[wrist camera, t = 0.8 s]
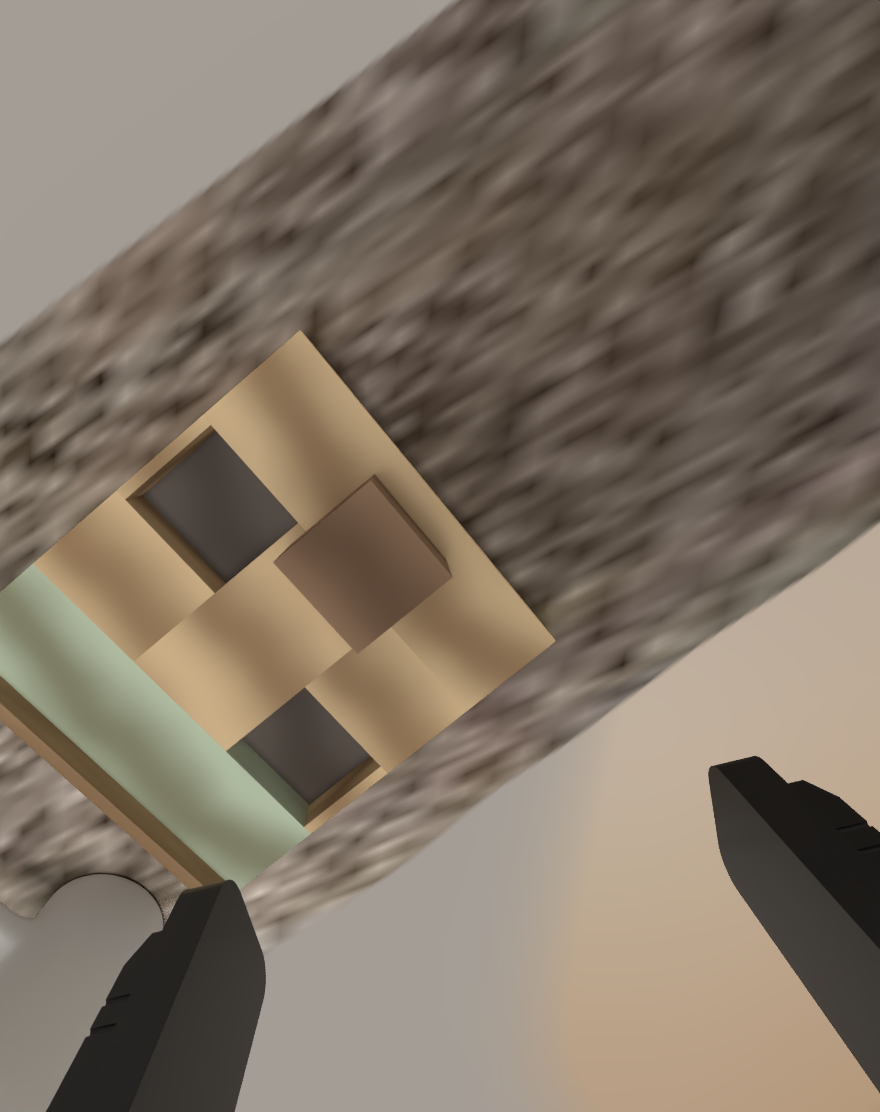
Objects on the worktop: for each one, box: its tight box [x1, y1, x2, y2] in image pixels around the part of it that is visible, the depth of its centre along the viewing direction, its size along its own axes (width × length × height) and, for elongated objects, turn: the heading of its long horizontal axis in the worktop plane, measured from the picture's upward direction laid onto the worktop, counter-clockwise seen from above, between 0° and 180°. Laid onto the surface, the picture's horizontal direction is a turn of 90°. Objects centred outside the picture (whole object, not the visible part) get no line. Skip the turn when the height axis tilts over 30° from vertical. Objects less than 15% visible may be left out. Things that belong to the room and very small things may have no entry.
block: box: [273, 474, 452, 654], centre depth 25 cm, size 5×5×4 cm
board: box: [0, 330, 555, 890], centre depth 28 cm, size 21×18×3 cm
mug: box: [0, 874, 163, 1112], centre depth 26 cm, size 10×7×12 cm, turn 41°
